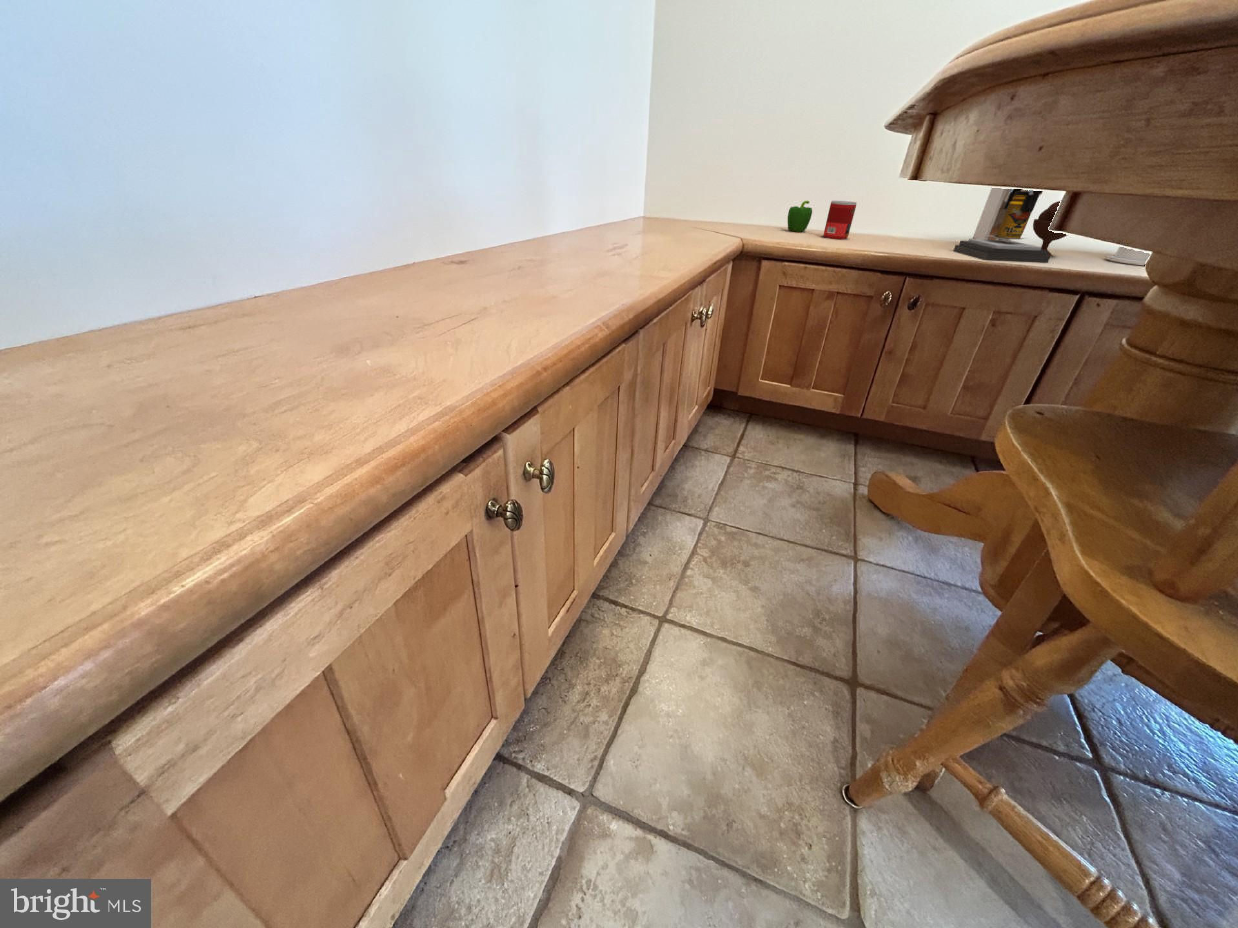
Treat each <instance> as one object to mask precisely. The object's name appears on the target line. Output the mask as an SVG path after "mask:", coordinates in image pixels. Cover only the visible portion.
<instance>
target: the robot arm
mask: <svg viewBox="0 0 1238 928" xmlns="http://www.w3.org/2000/svg"><path fill="white" fill-rule="evenodd" d="M1022 190H1023V189H1010V191H1009V193H1010V194H1009V197H1008V199H1007V202H1006V204H1005V207H1004V209H1007V207H1008V205H1009V203H1010V202H1011V201H1012V198H1013V197H1014V195H1015V192H1016V191H1022ZM1043 192H1044V191H1033V190H1029V195H1026V197H1025V200H1024V202H1023V204H1022V207H1021V209H1020V211H1024V212H1032V213H1033V211H1034V210H1035V207H1036V204H1037V201H1038V199H1039V197H1040V196H1041V195H1042V194H1043ZM1149 256H1150V254H1149V253H1144V252H1142V251H1135V250H1133V249H1127V248H1124V247H1120V246H1119V247H1118V248H1117V251H1116V252H1115V254H1108V255H1107V256H1106V260H1107V261H1110V262H1114V263H1120V264H1127V265H1135V266H1144V264H1145V262H1146V260H1147V259H1148V257H1149Z"/></svg>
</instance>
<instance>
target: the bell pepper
mask: <svg viewBox="0 0 1238 928" xmlns="http://www.w3.org/2000/svg"><path fill="white" fill-rule="evenodd" d="M806 204H807V205H809V204H810V201H809V200H804V201H802V202H801V205H800V207H799V206H797V205H795V206H790V208H788V209H789V210H788V213H787V229H788V231H790V232H795V233H802V232H805V231H806V230H807V228H808V226H809V224H810V221H811V219H812V215H813V208H812V207H809V206H805V205H806Z"/></svg>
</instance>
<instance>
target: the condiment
mask: <svg viewBox="0 0 1238 928" xmlns="http://www.w3.org/2000/svg"><path fill="white" fill-rule="evenodd" d="M1026 195H1029V191H1016V192H1015V195H1014V197H1013V198H1012V201H1011V202H1010V203H1009V205H1008V207H1007V210H1006V212H1005V215H1004V218H1003V220H1002V223H1001V225H1000V227H999V230H998V232H997V235H984V236H991V237H997V238H1003V239H1010V240H1011V241H1014V240H1015V241H1016V240H1026V239H1027V240H1028V238H1026V237H1022V236H1023V234H1024V231H1025V230H1026V228H1027V227H1026V226H1027V225H1028V222H1029V220H1030V217H1031V215H1032V213H1033V211H1032V212H1024V211H1020V209H1021V207H1022V204H1023V202H1024V200H1025V197H1026Z"/></svg>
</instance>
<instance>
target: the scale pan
mask: <svg viewBox="0 0 1238 928" xmlns="http://www.w3.org/2000/svg"><path fill="white" fill-rule="evenodd" d="M967 241H968V242H972V243H976V244H980V245H984V246H988V247H992V248H1002V249H1025V250H1041V248H1042V247H1041V246H1038V245H1033V244H1028V243H1025V242H1020V241H1016V240H1015V241H1014V240H1011V241H1009V240H986V239H972V238H968V240H967Z"/></svg>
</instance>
